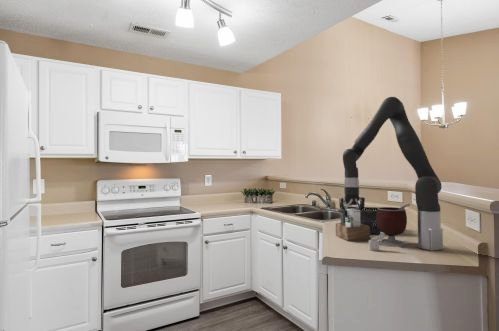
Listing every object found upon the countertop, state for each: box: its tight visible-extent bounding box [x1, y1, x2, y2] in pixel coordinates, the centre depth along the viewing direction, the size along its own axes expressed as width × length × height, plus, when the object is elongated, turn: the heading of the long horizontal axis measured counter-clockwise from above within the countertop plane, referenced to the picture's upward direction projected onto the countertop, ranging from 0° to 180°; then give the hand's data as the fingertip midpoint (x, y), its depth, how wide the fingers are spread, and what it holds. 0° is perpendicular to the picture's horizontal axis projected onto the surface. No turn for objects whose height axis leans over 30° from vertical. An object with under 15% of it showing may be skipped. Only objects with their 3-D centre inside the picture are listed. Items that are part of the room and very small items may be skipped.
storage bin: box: [340, 206, 381, 235], centre depth 186 cm, size 29×19×13 cm
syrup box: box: [345, 209, 360, 227], centre depth 166 cm, size 6×6×14 cm
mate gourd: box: [375, 203, 411, 247], centre depth 153 cm, size 16×14×20 cm
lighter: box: [368, 232, 386, 251], centre depth 141 cm, size 7×2×8 cm, turn 92°
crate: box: [335, 222, 371, 242], centre depth 166 cm, size 13×13×7 cm
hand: (352, 216), depth 166 cm, fingers open, 6 cm apart
